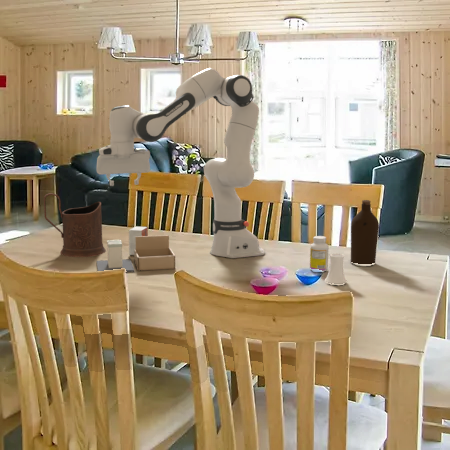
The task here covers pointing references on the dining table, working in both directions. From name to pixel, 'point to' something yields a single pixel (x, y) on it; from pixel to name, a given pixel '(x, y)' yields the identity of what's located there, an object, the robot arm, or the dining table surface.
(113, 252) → the cream box
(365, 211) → the olive oil
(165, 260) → the carton
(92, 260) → the dining table surface
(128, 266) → the rubber mat
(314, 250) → the supplement bottle
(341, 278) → the salt shaker
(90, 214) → the brown pitcher
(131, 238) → the small box
